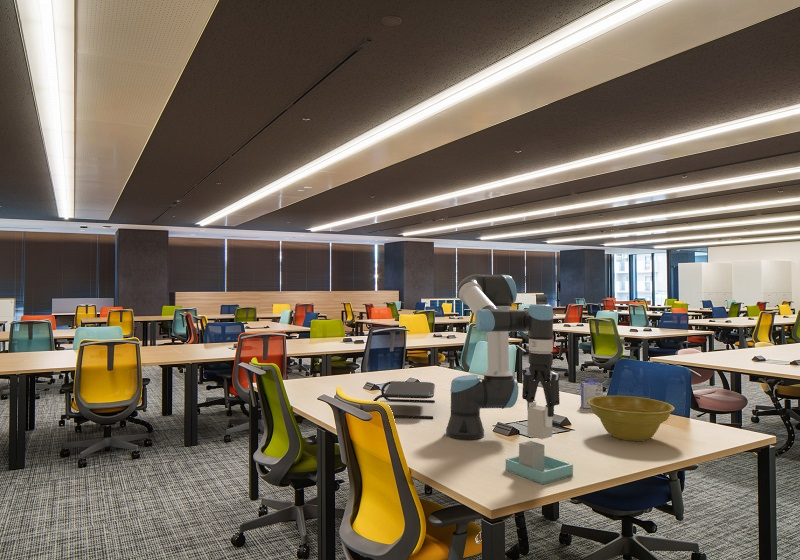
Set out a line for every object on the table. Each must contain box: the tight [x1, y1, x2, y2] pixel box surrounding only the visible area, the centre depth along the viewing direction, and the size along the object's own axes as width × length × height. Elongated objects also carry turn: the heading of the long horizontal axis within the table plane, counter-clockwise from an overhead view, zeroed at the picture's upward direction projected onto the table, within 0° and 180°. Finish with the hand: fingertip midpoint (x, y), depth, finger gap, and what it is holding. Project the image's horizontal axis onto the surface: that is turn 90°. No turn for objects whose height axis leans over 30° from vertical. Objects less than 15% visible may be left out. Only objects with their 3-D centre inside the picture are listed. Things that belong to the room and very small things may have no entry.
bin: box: [505, 454, 574, 485], centre depth 170 cm, size 15×14×4 cm
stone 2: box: [518, 440, 545, 472], centre depth 168 cm, size 6×6×9 cm
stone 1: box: [526, 404, 553, 440], centre depth 172 cm, size 6×6×9 cm
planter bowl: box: [587, 395, 676, 442], centre depth 215 cm, size 32×32×13 cm
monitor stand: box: [372, 380, 436, 420], centre depth 259 cm, size 37×28×11 cm
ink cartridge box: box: [580, 377, 604, 409], centre depth 269 cm, size 10×6×14 cm, turn 89°
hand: (540, 424), depth 172 cm, fingers closed on stone 1, 6 cm apart
